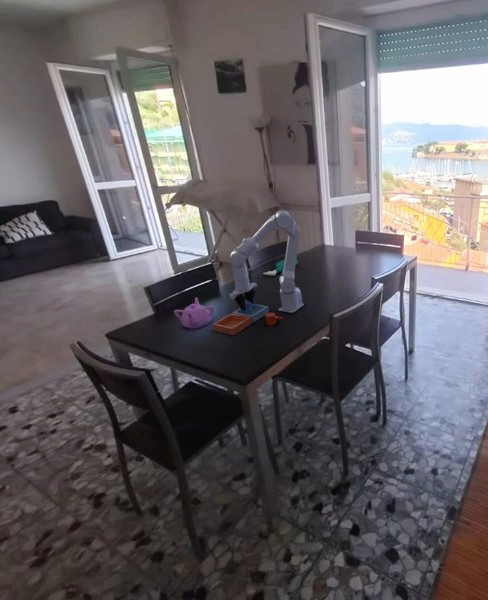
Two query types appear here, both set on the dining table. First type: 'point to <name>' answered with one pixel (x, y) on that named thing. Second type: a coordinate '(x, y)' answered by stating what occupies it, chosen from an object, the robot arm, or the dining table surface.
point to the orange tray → (232, 324)
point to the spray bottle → (278, 268)
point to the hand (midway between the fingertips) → (246, 307)
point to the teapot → (195, 315)
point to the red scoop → (271, 318)
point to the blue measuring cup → (249, 306)
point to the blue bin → (254, 312)
